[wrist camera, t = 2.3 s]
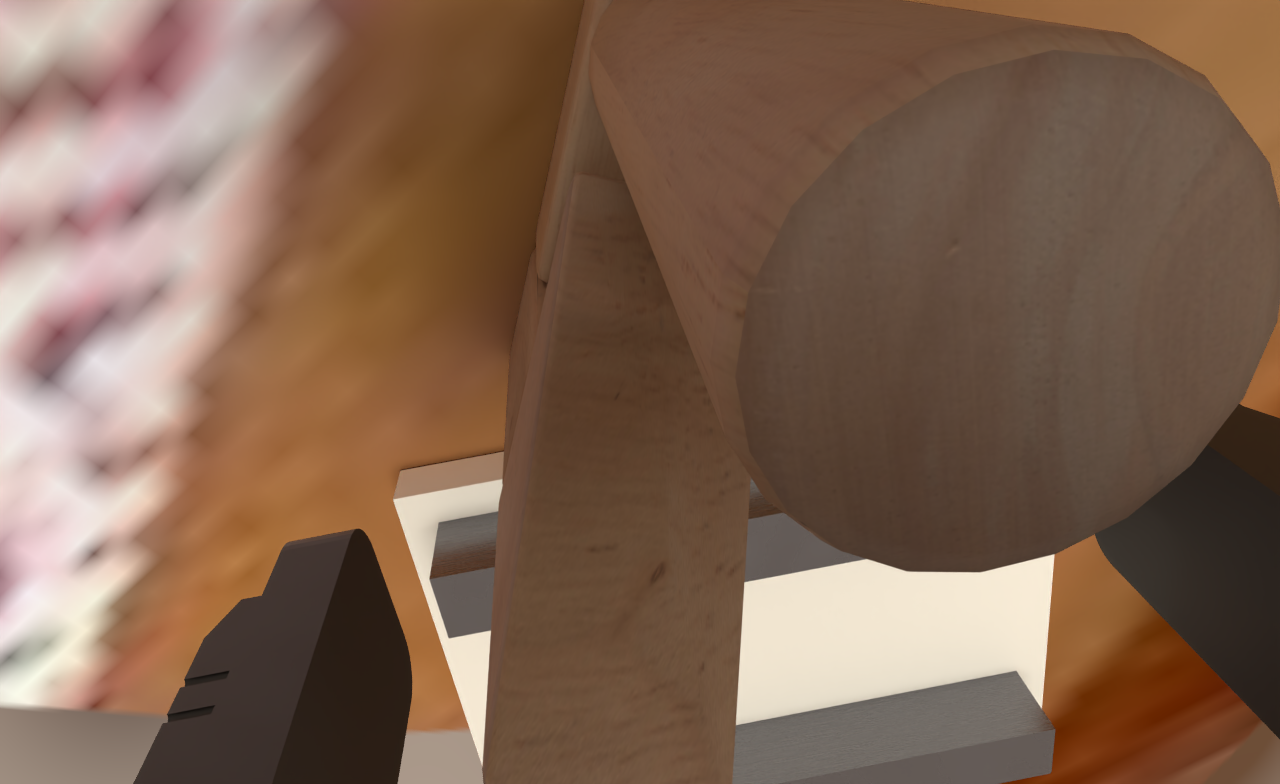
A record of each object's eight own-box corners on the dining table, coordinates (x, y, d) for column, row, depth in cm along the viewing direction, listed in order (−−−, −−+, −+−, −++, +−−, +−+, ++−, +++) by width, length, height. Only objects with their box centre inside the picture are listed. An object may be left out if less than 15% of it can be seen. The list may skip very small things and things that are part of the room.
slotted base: (400, 470, 26) (379, 555, 22) (1041, 352, 26) (1121, 416, 23) (505, 796, 32) (502, 902, 28) (1019, 696, 33) (1079, 788, 29)
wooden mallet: (506, 360, 24) (456, 1144, 8) (595, -65, 20) (839, -108, 4) (635, 384, 25) (811, 1145, 9) (749, -21, 21) (1465, 92, 5)
